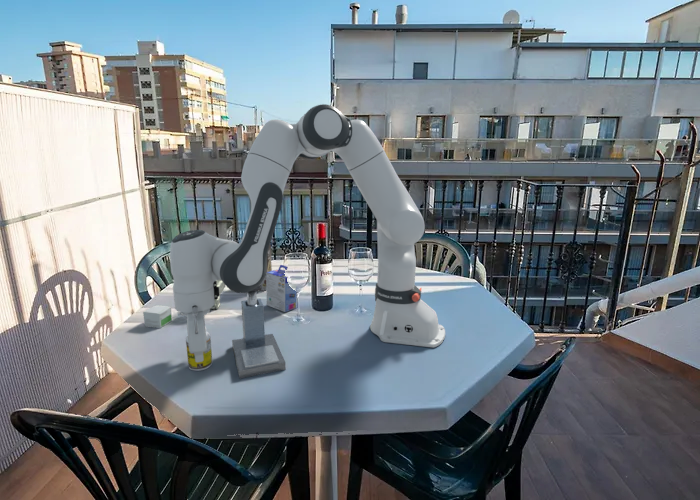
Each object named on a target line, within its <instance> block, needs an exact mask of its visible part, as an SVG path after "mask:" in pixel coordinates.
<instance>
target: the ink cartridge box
mask: <svg viewBox="0 0 700 500" xmlns="http://www.w3.org/2000/svg"><path fill="white" fill-rule="evenodd" d="M284 269H285V270H287V271H288V266H286V265H283V264H280V265H279V267H278V269H274V270H273V269H272V271H270V272H267V273H266V290H265V291H266V293H265V294H266V306H268V307H270V308H273V309H276V310H279V311H281V312H283V313H287V312H289V311H292V310H296V309H297V290H296V291H295V290H293V289H292V288H291V287H290V286H289V284H288V282H287V277H286V276H285V274H284V273H285V270H284Z"/></svg>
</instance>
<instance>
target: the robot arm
mask: <svg viewBox="0 0 700 500" xmlns="http://www.w3.org/2000/svg"><path fill="white" fill-rule="evenodd" d="M331 152H333V153H335V154H337V155H338V156H339V158H340V159H341V160H342V161H343V163H344V165H345V167H346V168H347V171H348V172H349V174H350V176H351V178H352V179H353V181H354V183H355V185H356V186H357V188H358V190H359V192H360V193H361V195H362V198H363V199H364V201H365V202H366V203H367V205H368V207H369V209H370V210H371V212H372V214H373V216H374V217H375V219H376V237H377V277H376V278H377V282H376V283H375V289H374V298H375V299H374V300H375V305H374V312H373V317H372V320H371V322H370V325H369V326H370V327H369V329H370V330H371V332H372V333H373V334H374V335H376V336H378V338H379V339H380V341H381V342H383V343H390V344H398V345H407V346H416V347H426V348H436V347H438V346H440V345H441V344H442V343H443V342H444V341H443V340H445V338H446V328H445V327H444V326H443V325H442V324H439V319H438V314H437V312H436V310H434V309H433V308H432V307H431V306H429V305H428V304H427V303H426V302H425V301H424V300H422V299H421V297H422V287H420V288H419V287H417V286H416V285H415V284H416V283H415V282H416V269H417V267H416V266H417V258H416V252H415V251H416V250H415V244H416V243H417V242H419V241H420V240H421V238H422V237H423V236H424V233H425V230H426V229H425V228H426V227H425V226H426V225H425V220H424V217H423V215H422V213H421V212H420V209H419V208H418V206H417V205H416V203H415V201H414V200H413V198H412V196H411V195H410V193H409V191H408V190H407V188H406V187H405V186H404V185H405V184H404V183H403V182H402V180H401V179H400V177H399V176H398V174H397V172H396V170H395V168H394V166H393V164H392V163H391V160H390V158H389V157H388V155H387V153H386V151H385V150H384V148H383V146H382V144H381V142H380V141H379V139H378V137H377V136H376V134H375V133H374V132H373V130H372V129H371V127H369V125H368V124H367V123H366V122H365V121H363V120H362V119H350V118H349V117H347V116H346V115H345V114H343V113H342V111H340V110H339V109H338V108H336V107H335V106H333V105H330V104H324V103H322V104H317V105H314V106H313V107H311V108H310V109H308V110H307V111H306V113H304V114H303V115H302V116H301V117H300V118H299V120H298V121H297V122H296V123H294V124H293V123H289V122H287V121H285V120H282V119H271V120H270V119H269V120H268V121H267V122H265V124H264V125H263V126H262V128H261V129H260V131H259V132H258V133H257V136H256V138H255V139H254V140H253V143H252V145H251V146H250V149H249V151H248V153H247V156H246V158H245V159H244V163H243V166H242V171H241V176H240V180H241V183H242V187H243V188H244V190H245V192H246V193H247V195H248V197H249V199H250V203H251V204H250V205H251V206H250V207H251V209H250V214H249V217H248V221H247V223H246V226H245V228H244V232H243V235H242V237H241V240H240V242H239V243H238V242H236V241H234V240H231V239H225V238H220V237H217V236H214V235H211V234H210V233H208V232H206V231H205V230H203V229H194V230H193V229H191V230H187V231H184V232H181V233H179V234H177V235H176V236H174V237H173V238H172V240H171V243H170V248H169V249H170V250H169V258H170V259H169V261H170V272H171V275H172V278H173V285H172V295H173V301H174V303H173V304H174V309H175V311H177V312H179V313H180V314H181V315H182V316H183V317H186V330H187V336H188V344H189V351H190V353H194V355H195V361H196V362H202V361H203V360H204V359H203V352H204V351H206V349H207V344H206V331H205V326H206V320H205V315H207V314H208V313H210V311H211V309H210V308H211V307H213V306H214V304H215V300H214V287H213V283H214V281H216V280H221V281H223V283H224V284H225V287H226V288H228V290H230V291H232V292H234V293H237V294H245V293H246V294H247V292H249V291H252V290H254V289H255V288H257V287H258V286H259V285H260V284H261V283H262V281H263V280H264V278H265V275H266V271H267V254H268V249H269V246H270V245H271V242H272V239H273V235H274V233H275V230H276V229H275V228H276V227H277V223H278V220H279V216H280V212H281V210H282V205H283V197H284V192H285V188H286V185H287V182H288V179H289V176H290V174H291V171H292V168H293V167H294V164H295V161H297V159H298V157H300V158H306V159H318V158H321V157H322V156H325V155H328V154H329V153H331ZM197 333H198V334H197Z"/></svg>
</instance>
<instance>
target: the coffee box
mask: <svg viewBox="0 0 700 500" xmlns="http://www.w3.org/2000/svg"><path fill="white" fill-rule="evenodd" d="M272 265H273V264H272V245H271V244H270V246H269V249H268V254H267V271H266V273H267V272H270V271H273V268H272V267H273V266H272ZM260 291H266V275H265V278H264V280H263V281H262V289H261V290H260Z"/></svg>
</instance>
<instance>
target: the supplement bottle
mask: <svg viewBox="0 0 700 500" xmlns="http://www.w3.org/2000/svg"><path fill="white" fill-rule="evenodd" d="M207 330H208V329H207V326H206V325H205V331H206V344H207V349H206V351H204V352H203V359H204V360H203V361H202V362H196V361H195V355H194V353H190V351H189V344H188V335H187V336H186V338H185V345H186V352H187V353H186V355H187V366H188V368H189V369H190V370H191V371H194V372H195V371H197V372H198V371H199V372H200V371H203V370H207V369H209V368H210V367H211V366H212V364H213V353H212V352H213V351H212V341H211V340H212V339H211V334H210V333H209V332H208V331H207ZM197 334H198V333H197Z"/></svg>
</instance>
